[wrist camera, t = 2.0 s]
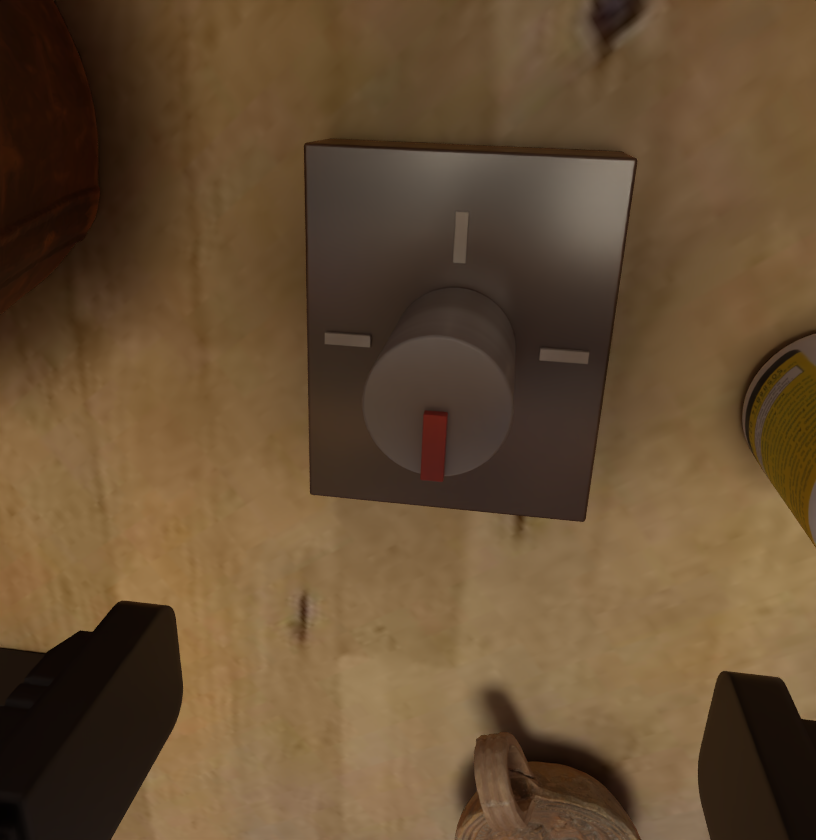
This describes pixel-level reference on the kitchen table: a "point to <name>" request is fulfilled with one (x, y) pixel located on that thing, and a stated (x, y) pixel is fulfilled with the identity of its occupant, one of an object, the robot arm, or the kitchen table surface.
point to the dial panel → (475, 270)
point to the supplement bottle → (787, 427)
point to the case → (42, 146)
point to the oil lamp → (537, 799)
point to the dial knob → (443, 385)
